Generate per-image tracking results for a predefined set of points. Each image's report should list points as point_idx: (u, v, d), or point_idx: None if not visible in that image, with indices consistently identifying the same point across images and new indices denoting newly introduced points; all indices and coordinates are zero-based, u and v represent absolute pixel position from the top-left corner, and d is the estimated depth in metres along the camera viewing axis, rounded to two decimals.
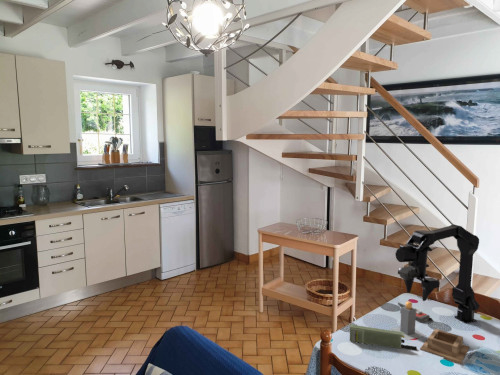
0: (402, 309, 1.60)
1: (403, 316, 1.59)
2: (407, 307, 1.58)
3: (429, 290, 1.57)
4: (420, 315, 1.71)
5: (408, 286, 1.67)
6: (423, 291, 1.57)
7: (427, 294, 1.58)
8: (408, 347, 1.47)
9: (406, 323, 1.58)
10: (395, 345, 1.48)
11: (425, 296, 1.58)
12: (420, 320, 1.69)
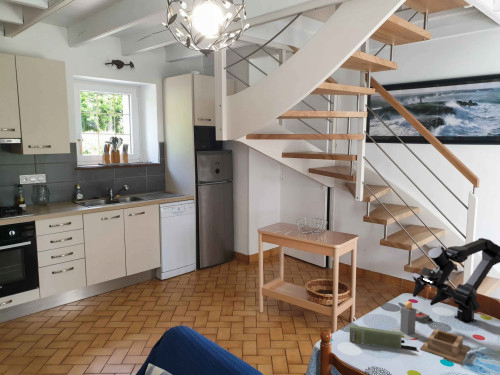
0: (402, 309, 1.60)
1: (403, 316, 1.59)
2: (407, 307, 1.58)
3: (441, 298, 1.57)
4: (420, 315, 1.71)
5: (416, 290, 1.66)
6: (436, 295, 1.57)
7: (437, 300, 1.57)
8: (408, 347, 1.47)
9: (406, 323, 1.58)
10: (395, 346, 1.48)
11: (435, 300, 1.57)
12: (420, 320, 1.69)
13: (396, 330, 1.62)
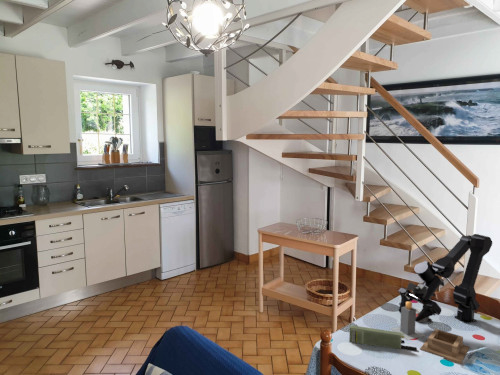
0: (402, 309, 1.60)
1: (403, 316, 1.59)
2: (407, 307, 1.58)
3: (426, 314, 1.55)
4: None
5: (402, 306, 1.64)
6: (421, 311, 1.55)
7: (423, 316, 1.55)
8: (408, 348, 1.47)
9: (406, 323, 1.58)
10: (395, 346, 1.48)
11: (420, 317, 1.55)
12: None
13: (396, 330, 1.62)
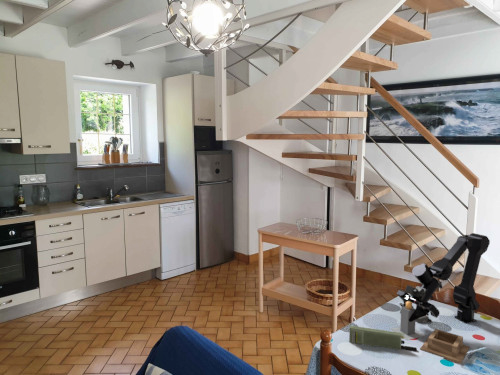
0: (402, 309, 1.60)
1: (403, 316, 1.59)
2: (407, 307, 1.58)
3: (420, 314, 1.57)
4: None
5: None
6: (415, 311, 1.57)
7: (416, 316, 1.57)
8: (408, 348, 1.46)
9: (406, 323, 1.58)
10: (395, 347, 1.47)
11: (413, 317, 1.57)
12: (418, 320, 1.69)
13: (396, 330, 1.62)
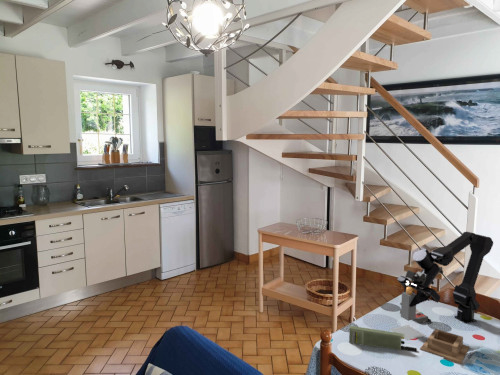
0: (403, 294, 1.59)
1: (404, 301, 1.58)
2: (408, 292, 1.58)
3: (420, 299, 1.56)
4: (418, 316, 1.71)
5: None
6: (415, 296, 1.56)
7: (417, 302, 1.56)
8: (408, 348, 1.46)
9: (406, 309, 1.57)
10: (395, 347, 1.47)
11: (414, 302, 1.56)
12: (418, 320, 1.69)
13: (396, 330, 1.62)
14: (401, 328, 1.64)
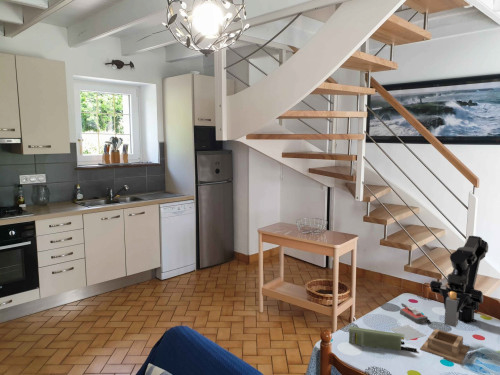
0: (447, 301, 1.51)
1: (449, 307, 1.51)
2: (453, 298, 1.50)
3: (464, 303, 1.52)
4: (417, 316, 1.70)
5: None
6: (461, 301, 1.50)
7: (462, 306, 1.51)
8: (408, 349, 1.46)
9: (453, 315, 1.50)
10: (395, 347, 1.47)
11: (460, 307, 1.50)
12: (417, 321, 1.68)
13: (396, 330, 1.62)
14: (401, 328, 1.64)
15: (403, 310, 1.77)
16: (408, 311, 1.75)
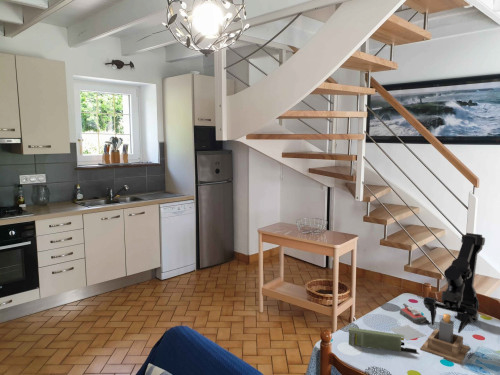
0: (441, 324, 1.46)
1: (443, 331, 1.45)
2: (447, 321, 1.45)
3: (465, 322, 1.45)
4: (416, 316, 1.70)
5: (434, 318, 1.50)
6: (462, 320, 1.43)
7: (463, 326, 1.44)
8: (408, 350, 1.45)
9: (447, 339, 1.45)
10: (395, 348, 1.46)
11: (462, 327, 1.43)
12: (414, 321, 1.68)
13: (396, 330, 1.62)
14: (401, 328, 1.64)
15: (403, 310, 1.77)
16: (407, 311, 1.75)
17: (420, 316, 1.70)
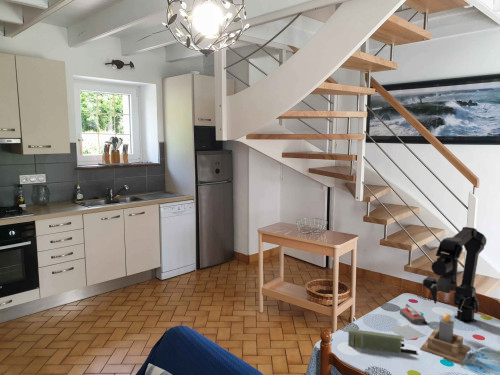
0: (441, 324, 1.46)
1: (443, 331, 1.45)
2: (447, 321, 1.45)
3: (464, 298, 1.55)
4: (414, 317, 1.70)
5: (435, 297, 1.61)
6: (461, 300, 1.54)
7: (463, 302, 1.55)
8: (408, 351, 1.44)
9: (447, 339, 1.45)
10: (395, 350, 1.45)
11: (461, 305, 1.55)
12: (412, 321, 1.68)
13: (396, 330, 1.62)
14: (401, 328, 1.64)
15: (402, 310, 1.77)
16: (407, 311, 1.75)
17: (418, 317, 1.70)
